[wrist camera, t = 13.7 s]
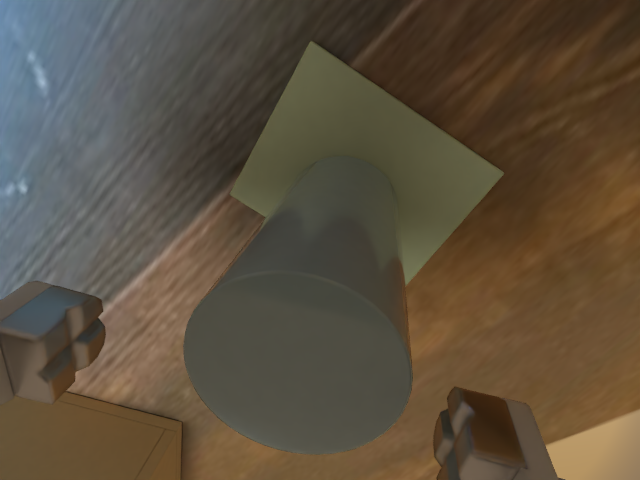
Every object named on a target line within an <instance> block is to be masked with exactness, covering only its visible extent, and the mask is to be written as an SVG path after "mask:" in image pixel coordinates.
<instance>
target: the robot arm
mask: <svg viewBox="0 0 640 480" xmlns="http://www.w3.org/2000/svg"><path fill="white" fill-rule="evenodd" d="M102 312H103V306H102V300H101V299H99V298H97V297H96V296H92V295H88V294H85V293H81V292H78V291H74V290H70V289H67V288H63V287H60V286H54V285H50V284H47V283H43V282H40V281H32V282H28V283H26V284H25V285H23V286H22V287H20V288H19V289H17V290H15V291H14V292H12V293H11V294H9V295H8V296H6V297H5V298H3V299H2V300H0V405H2V404H4V403H6V402H8V401H10V400H12V399H13V398H14V396H17V397H21V398H26V399H30V400H34V401H38V402H42V403H47V404H51V405H53V404H54V403H55V402H56V401H57V400H58V398H59V397H60V396H61V395H62V394H63V393H64V392H65V391H66V390H67V389H68V388H69V387H70V386H71V385H72V384H73V383H74V382H75V373H76V371H79V370H81V369H83V368H86V367H88V366H90V364H91V363H92V362H93V361H94V360H95V359H96V358H97V357H98V355H99V353H100V351H101V349H102V347H103V345H104V341H105V335H106V334H105V326H104V325H103V323H102V322H101V321H100V319H99V318H98V317H99V315H100V314H101V313H102ZM447 402H448V409H446V410H444V411H442V412H440V415H439V417H438V419H437V422H436V426H435V431H434V440H433V447H434V457H435V459H436V460H437V461H438V463H439V464H440V466H441V467H442V468H441V469H440V471H439V473H438V475H437V480H565V479H561V478H558V477H557V474H556V472H555V469H554V467H553V465H552V462H551V459H550V457H549V454H548V452H547V449H546V446H545V444H544V441H543V439H542V436H541V434H540V431H539V429H538V426H537V424H536V421H535V418H534V416H533V413H532V411H531V408H530V407H529V406H528V405H527V404H526V403H522V402H518V401H514V400H510V399H506V398H500V397H496V396H492V395H488V394H484V393H480V392H476V391H471V390H467V389H463V388H459V387H454V388H453V389H452V390H451V391H450V393H449V395H448V397H447Z"/></svg>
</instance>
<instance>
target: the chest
mask: <svg viewBox="0 0 640 480" xmlns="http://www.w3.org/2000/svg"><path fill="white" fill-rule="evenodd" d="M181 442H182V422H179V421H175V420H171V419H168V418H164V417H160V416H156V415H152V414H148V413H144V412H141V411H137V410H133V409H129V408H125V407H121V406H118V405H114V404H110V403H106V402H102V401H98V400H94V399H91V398H87V397H83V396H79V395H75V394H71V393H67V392H64V393H63V394H62V395H61V396H60V397H59V398H58V400H57V401H56V402H55V403H54V404H53V405H51V404H47V403H42V402H38V401H34V400H30V399H26V398H21V397H17V396H14V398H13V399H12V400H10V401H8V402H6V403H4V404H2V405H0V480H181Z"/></svg>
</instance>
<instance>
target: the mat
mask: <svg viewBox="0 0 640 480" xmlns="http://www.w3.org/2000/svg"><path fill="white" fill-rule="evenodd" d="M333 156H349V157H355V158H358V159H362V160H364V161H366V162H368V163H370V164H372V165H373V166H375V167H376V168H378V169H379V170H380V171H381V172H382V173H383V174H384V175H385V176H386V177H387V178H388V180H389V181H390V182H391V184H392V186H393V188H394V190H395V192H396V195H397V199H398V203H399V215H400V227H401V239H402V251H403V263H404V275H405V286H406V285H407V284H408V283H409V282H410V280H411V279H412V278H413V277H414V276H415V275H416V274H417V272H418V271H419V270H420V269H421V268H422V267H423V266H424V264H425V263H426V262H427V261H428V260H429V259H430V258H431V257H432V255H433V254H434V253H435V252H436V251H437V250H438V249H439V247H440V246H441V245H442V244H443V243H444V242H445V241H446V239H447V238H448V237H449V236H450V235H451V234H452V233H453V231H454V230H455V229H456V228H457V227H458V226H459V225H460V223H461V222H462V221H463V220H464V219H465V218H466V217H467V215H468V214H469V213H470V212H471V211H472V210H473V209H474V207H475V206H476V205H477V204H478V203H479V202H480V201H481V199H482V198H483V197H484V196H485V195H486V194H487V193H488V192H489V190H490V189H491V188H492V187H493V186H494V185H495V184H496V182H497V181H498V180H499V179H500V178H501V177H502V176H503V174H504V172H503V171H501V170H500V169H498V168H497V167H495V166H494V165H493V164H491V163H490V162H488V161H487V160H485V159H484V158H482V157H481V156H479V155H478V154H477V153H475V152H474V151H472V150H471V149H469V148H468V147H466V146H465V145H463V144H462V143H461V142H459V141H458V140H456V139H455V138H453V137H452V136H450V135H449V134H447V133H446V132H444V131H443V130H442V129H440V128H439V127H437V126H436V125H434V124H433V123H431V122H430V121H428V120H427V119H426V118H424V117H423V116H421V115H420V114H418V113H417V112H415V111H414V110H412V109H411V108H409V107H408V106H407V105H405V104H404V103H402V102H401V101H399V100H398V99H396V98H395V97H393V96H392V95H391V94H389V93H388V92H386V91H385V90H383V89H382V88H380V87H379V86H377V85H376V84H374V83H373V82H372V81H370V80H369V79H367V78H366V77H364V76H363V75H361V74H360V73H358V72H357V71H356V70H354V69H353V68H351V67H350V66H348V65H347V64H345V63H344V62H342V61H341V60H340V59H338V58H337V57H335V56H334V55H332V54H331V53H329V52H328V51H326V50H325V49H323V48H322V47H321V46H319V45H318V44H316V43H315V42H313V41H310V43H309V45H308V46H307V48H306V50H305V52H304V54H303V56H302V58H301V60H300V62H299V63H298V65H297V67H296V69H295V71H294V73H293V75H292V77H291V79H290V80H289V82H288V84H287V86H286V88H285V90H284V92H283V94H282V96H281V97H280V99H279V101H278V103H277V105H276V107H275V109H274V111H273V113H272V114H271V116H270V118H269V120H268V122H267V124H266V126H265V128H264V130H263V131H262V133H261V135H260V137H259V139H258V141H257V143H256V145H255V147H254V148H253V150H252V152H251V154H250V156H249V158H248V160H247V162H246V164H245V166H244V167H243V169H242V171H241V173H240V175H239V177H238V179H237V181H236V183H235V184H234V186H233V188H232V190H231V192H230V195H231V196H232V197H234V198H235V199H237V200H239V201H240V202H242V203H243V204H245V205H247V206H248V207H250V208H251V209H253V210H255V211H256V212H258V213H259V214H261V215H263V216H264V217H266V216H267V215H268V214H269V213H270V211H271V210H272V209H273V207H274V206H275V205H276V204H277V202H278V201H279V200H280V198H281V197H282V196H283V195H284V193H285V192H286V191H287V189H288V188H289V187H290V186H291V184H292V183H293V182H294V180H295V179H296V178H297V177H298V175H299V174H300V173H301V172H302V171H303V170H304V169H305V168H307V167H308V166H309V165H311V164H313V163H314V162H316V161H319V160H321V159H324V158H328V157H333Z"/></svg>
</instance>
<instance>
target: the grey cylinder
mask: <svg viewBox="0 0 640 480" xmlns="http://www.w3.org/2000/svg"><path fill="white" fill-rule="evenodd" d="M183 347H184V360H185V365H186V369H187V372H188V375H189V378H190V381H191V383H192V385H193V387H194V389H195V390H196V392H197V393H198V395H199V396H200V398H201V399H202V401H203V402H204V403H205V404H206V406H207V407H208V408H209V409H210V410H211V411H212V412H213V413H214V414H215V415H216V416H217V417H218V418H219V419H220V420H221V421H223V422H224V423H225V424H226V425H228V426H229V427H230V428H232V429H234V430H235V431H237V432H238V433H240V434H241V435H243V436H245V437H247V438H249V439H251V440H253V441H255V442H258V443H260V444H262V445H265V446H268V447H271V448H274V449H277V450H282V451H286V452H291V453H298V454H309V455H323V454H334V453H341V452H345V451H349V450H353V449H356V448H359V447H361V446H364V445H366V444H368V443H370V442H372V441H374V440H375V439H377V438H379V437H380V436H381V435H383V434H384V433H385V432H387V431H388V430H389V429H390V428H391V427H392V426H393V425H394V424H395V423H396V421H397V420H398V419H399V417H400V416H401V414H402V413H403V411H404V409H405V407H406V405H407V403H408V400H409V397H410V394H411V390H412V381H413V373H412V359H411V347H410V335H409V323H408V311H407V299H406V287H405V275H404V263H403V251H402V239H401V227H400V215H399V203H398V199H397V195H396V192H395V190H394V188H393V186H392V184H391V182H390V181H389V180H388V178H387V177H386V176H385V175H384V174H383V173H382V172H381V171H380V170H379V169H378V168H376V167H375V166H373V165H372V164H370V163H368V162H366V161H364V160H362V159H358V158H355V157H349V156H333V157H328V158H324V159H321V160H319V161H316V162H314V163H313V164H311V165H309V166H308V167H307V168H305V169H304V170H303V171H302V172H301V173H300V174H299V175H298V177H297V178H296V179H295V180H294V182H293V183H292V184H291V186H290V187H289V188H288V189H287V191H286V192H285V193H284V195H283V196H282V197H281V198H280V200H279V201H278V202H277V204H276V205H275V206H274V207H273V209H272V210H271V211H270V213H269V214H268V215H267V216H266V218H265V219H264V220H263V222H262V223H261V224H260V226H259V227H258V228H257V229H256V231H255V232H254V233H253V235H252V236H251V237H250V238H249V240H248V241H247V242H246V244H245V245H244V246H243V247H242V249H241V250H240V251H239V253H238V254H237V255H236V256H235V258H234V259H233V260H232V262H231V263H230V264H229V265H228V267H227V268H226V269H225V271H224V272H223V273H222V274H221V276H220V277H219V278H218V280H217V281H216V282H215V283H214V285H213V286H212V287H211V289H210V290H209V291H208V292H207V294H206V295H205V296H204V298H203V299H202V300H201V302H200V303H199V304H198V306H197V307H196V308H195V310H194V311H193V313H192V315H191V317H190V319H189V321H188V324H187V327H186V331H185V337H184V345H183Z"/></svg>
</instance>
